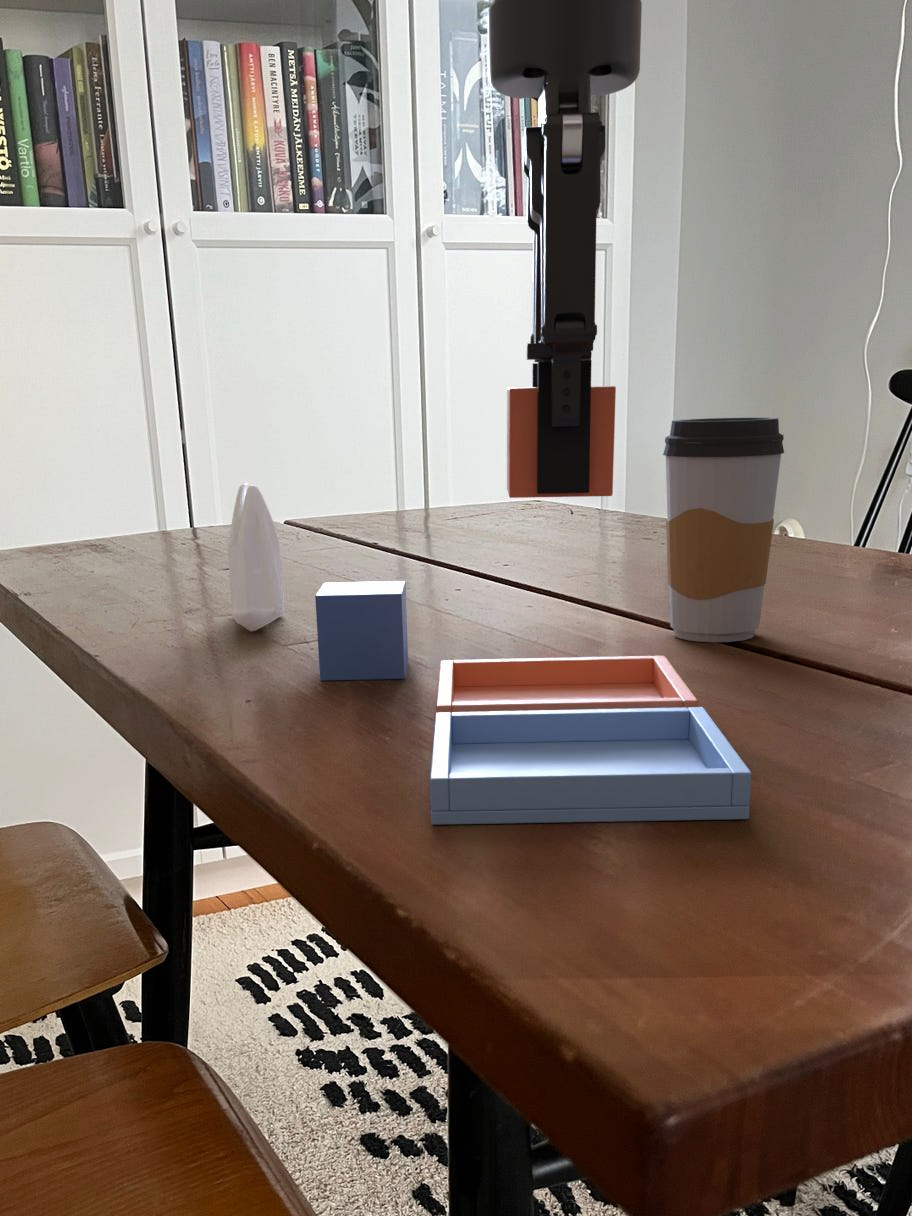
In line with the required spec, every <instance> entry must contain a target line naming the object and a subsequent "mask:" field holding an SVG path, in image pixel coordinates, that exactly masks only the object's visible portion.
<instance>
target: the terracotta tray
mask: <svg viewBox="0 0 912 1216" xmlns="http://www.w3.org/2000/svg"><path fill="white" fill-rule="evenodd" d="M682 707H686V708H689V707H699V700H698V699H697V698H696V696H695V695H694V694H693V692H692V691H691V689H690V688H689V687H688V685H687V684H686V682H685V681H684V680H683V679H682V677H681V676H680V674H679V672H677V670H676V669H675V668H674V666H673V664H672V663H671V662H670V661H669V660H668V658H667V657H666V656H665V655H625V656H624V655H621V656H578V657H577V656H576V657H572V656H571V657H536V658H535V657H531V658H488V659H487V658H486V659H485V658H484V659H483V658H482V659H481V658H480V659H452V660H451V659H448V660H447V659H446V660H443V659H442V660H440V662H439V675H438V686H437V695H436V713H442V712H450V713H451V714H452V712H487V711H536V710H585V709H633V708H682Z"/></svg>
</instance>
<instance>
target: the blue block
mask: <svg viewBox="0 0 912 1216" xmlns="http://www.w3.org/2000/svg"><path fill="white" fill-rule="evenodd" d="M406 590H407V585H406V581H405V580H389V581H387V580H385V581H384V580H383V581H382V580H381V581H348V582H347V581H345V582H344V581H342V582H341V581H340V582H324V583H323V584H322V586H321V587H320V588H319V590H318V591H317V593H316V594H315V596H314V599H315V613H316V614H315V615H316V617H315V618H316V634H317V635H316V636H317V646H318V647H317V650H318V666H319V667H318V668H319V680H320V682H323V681H325V682H326V681H327V682H329V681H366V680H367V681H371V680H373V681H375V680H404V679H405V678H406V673H407V670H408V664H409V646H408V644H409V642H408V641H409V640H408V615H407V614H408V613H407V591H406Z"/></svg>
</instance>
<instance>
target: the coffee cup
mask: <svg viewBox="0 0 912 1216" xmlns="http://www.w3.org/2000/svg"><path fill="white" fill-rule="evenodd" d="M779 422H780V421H779V417H713V418H709V417H707V418H690V419H688V418H687V419H673V420H671V425H670V433H669V435H667V436H665V437H664V443H665V446H664V450H663V453H662V456H665V481H666V517H667V518H666V520H665V527H666V533H665V534H666V560H667V561H666V563H667V585H668V591H669V593H668V594H669V627H670V628H672V630H673V636H674V637H676V638H678V639H681V640H686V641H692V642H701V643H732V642H741V641H746V640H749V639H752V638H754V637H755V634H756V633H755V632H756V630H757V629H759V628H760V621H761V616H762V615H761V614H762V607H763V599H764V592H765V585H766V584H767V576H768V569H769V560H770V552H771V547H772V538H773V530H774V523H775V519H774V515H775V514H774V513H775V505H776V497H777V490H778V483H779V475H780V467H781V460H782V459H781V458H782V454H785V449H784V444H783V442H784V434H782V433H780V423H779Z"/></svg>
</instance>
